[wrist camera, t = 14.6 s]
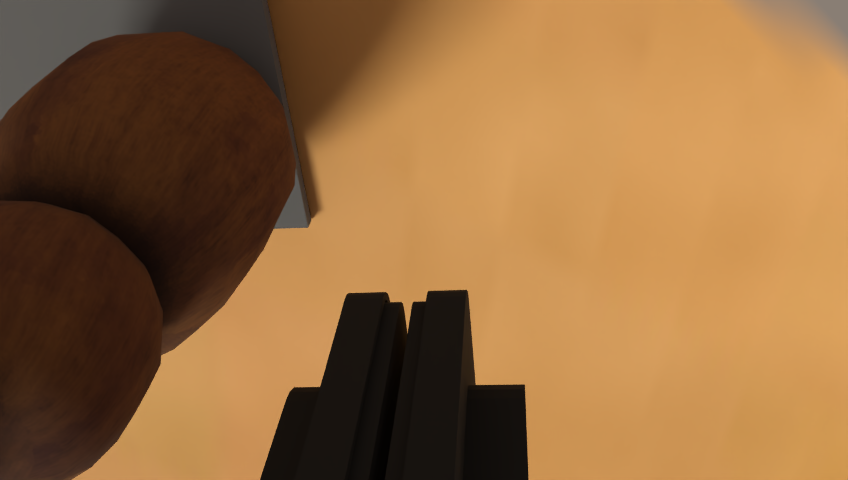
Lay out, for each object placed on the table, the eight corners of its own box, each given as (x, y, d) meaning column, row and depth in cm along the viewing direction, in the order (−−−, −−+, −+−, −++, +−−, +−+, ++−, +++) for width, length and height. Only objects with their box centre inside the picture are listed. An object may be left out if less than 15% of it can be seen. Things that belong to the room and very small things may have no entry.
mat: (261, -27, 19) (256, -23, 18) (311, 220, 22) (308, 227, 22) (-276, 14, 21) (-289, 18, 20) (-149, 234, 24) (-158, 241, 24)
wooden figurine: (169, -55, 18) (-613, 392, 6) (362, 100, 20) (94, 716, 7) (50, 139, 21) (-619, 703, 9) (225, 258, 23) (-126, 879, 10)
